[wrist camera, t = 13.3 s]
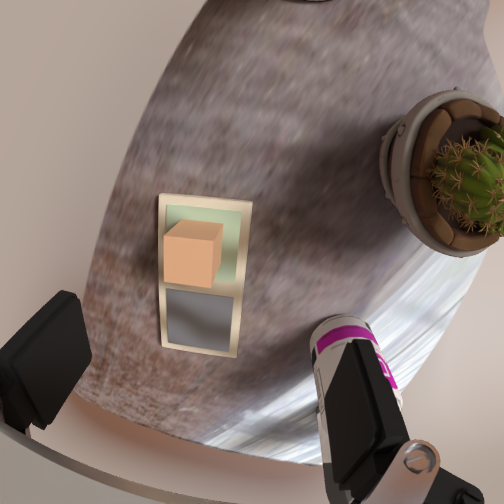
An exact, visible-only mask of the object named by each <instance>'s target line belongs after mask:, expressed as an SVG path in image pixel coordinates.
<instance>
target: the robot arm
mask: <svg viewBox="0 0 504 504" xmlns="http://www.w3.org/2000/svg"><path fill="white" fill-rule="evenodd" d="M309 1H324V0H309ZM91 358H92V353H91V349H90V345H89V341H88V337H87V332H86V328H85V323H84V318H83V313H82V308H81V303H80V300H79V299H78V298H77V296H76V294H74V293H72V292H68V291H64V290H61V291H59V292H58V293H57V294H56V295H55V296H54V297H53V298H52V299H51V300H49V301H48V302H47V303H46V304H45V305H44V306H43V307H42V308H41V309H40V310H39V311H38V312H37V313H36V314H35V315H34V316H33V317H32V318H31V319H30V320H28V321H27V322H26V323H25V325H23V326H22V328H21V329H19V330H18V332H16V334H15V335H14V336H13V337H12V338H11V339H10V340H9V341H8V342H7V343H6V344H5V345H4V346H3V347H2V348H1V349H0V504H236V503H228V502H221V501H214V500H208V499H202V498H196V497H191V496H186V495H182V494H177V493H172V492H168V491H164V490H160V489H156V488H153V487H149V486H146V485H142V484H139V483H135V482H132V481H128V480H126V479H123V478H119V477H117V476H114V475H111V474H108V473H106V472H103V471H100V470H98V469H95V468H93V467H90V466H88V465H85V464H83V463H80V462H78V461H76V460H74V459H71V458H69V457H67V456H65V455H63V454H60V453H58V452H56V451H54V450H52V449H50V448H48V447H46V446H44V445H42V444H41V443H39V442H37V441H35V440H33V439H31V435H30V430H29V425H30V424H31V422H32V424H33V425H35V426H37V427H38V428H40V429H43V430H45V428H46V426H47V425H50V424H51V423H52V422H53V420H54V419H55V417H56V415H57V414H58V412H59V410H60V409H61V407H62V406H63V404H64V402H65V401H66V399H67V397H68V396H69V394H70V393H71V391H72V390H73V388H74V386H75V385H76V383H77V382H78V380H79V379H80V377H81V376H82V374H83V373H84V371H85V370H86V368H87V367H88V365H89V364H90V362H91ZM324 406H325V414H326V421H327V429H328V437H329V445H330V453H331V462H332V471H333V480H334V482H335V483H339V491H344V490H350V491H351V497H353V498H352V499H351V501H350V502H349V503H348V504H484V497H483V494H482V493H481V491H480V490H479V489H478V488H477V487H475V486H473V485H472V484H470V483H468V482H466V481H464V480H462V479H460V478H458V477H457V476H455V475H453V474H451V473H449V472H448V471H446V470H444V469H443V468H441V467H440V456H439V453H438V451H437V450H436V448H435V447H434V446H433V445H432V444H430V443H429V442H426V441H424V440H416V439H415V440H410V438H409V435H408V432H407V429H406V426H405V423H404V420H403V417H402V414H401V411H400V408H399V406H398V403H397V400H396V397H395V394H394V392H393V389H392V386H391V384H390V381H389V380H388V379H387V378H386V377H385V375H384V373H383V370H382V367H381V365H380V362H379V360H378V357H377V354H376V352H375V349H374V347H373V344H372V342H371V340H369V339H353V340H352V342H348V343H347V344H346V346H345V348H344V351H343V354H342V356H341V359H340V361H339V364H338V366H337V368H336V371H335V373H334V376H333V378H332V380H331V383H330V385H329V387H328V390H327V392H326V394H325V398H324Z"/></svg>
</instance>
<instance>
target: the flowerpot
mask: <svg viewBox="0 0 504 504" xmlns="http://www.w3.org/2000/svg"><path fill="white" fill-rule="evenodd" d="M382 141H383V142H382V145H381V148H380V156H379V169H380V176H381V180H382V184H383V187H384V189H385V191H386V193H385V196H386V198H388V199H390V200H391V202H392V203H393V204H394V205H395V206H396V207H397V208H398V211H399V213H400V215H401V217H402V224H404V225H407V227H408V228H409V230H410V231H411V232H412V233H413V234H414V235H415V236H416V237H417V238H418V239H419V240H420V241H422V242H423V243H424V244H425V245H427V246H428V247H430V248H431V249H433V250H435V251H437V252H440V253H442V254H445V255H449V256H453V257H460V258H463V257H468V256H473V255H476V254H479V253H481V252H482V251H484V250H485V249H486V248H488V247H489V246H490V245H492V244H494V243H495V242H497V241H498V239H499V237H502V236H503V237H504V117H502V116H501V115H500V114H499V113H498V112H497V111H496V110H495V109H494V108H493V107H492V106H491V105H490V104H489V103H488V102H486V101H485V100H483V99H482V98H480V97H479V96H477V95H475V94H473V93H470V92H467V91H461V90H460V88H459V87H455V88H454V90H446V91H442V92H438V93H435V94H433V95H430V96H428V97H426V98H425V99H423V100H422V101H420V102H419V103H418V104H416V105H415V106H414V107H413V108H412V109H411V110H410V111H409V112H408V114H407V115H405V116H404V117H402V118H401V119H399V120H398V121H397V122H396V123H395V124H394V125H393V126H392V127H391V128H390V129H389V130H388V132H387V133H386V135H384V136H382Z"/></svg>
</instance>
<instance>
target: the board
mask: <svg viewBox="0 0 504 504" xmlns="http://www.w3.org/2000/svg"><path fill="white" fill-rule="evenodd" d="M252 205H253V201H245V200H236V199H226V198H216V197H205V196H194V195H183V194H170V193H161V194H159V215H158V274H159V304H160V324H161V339H162V347H168V348H173V349H179V350H185V351H191V352H197V353H203V354H210V355H217V356H224V357H232V358H236V357H237V349H238V339H239V330H240V320H241V310H242V300H243V291H244V281H245V272H246V262H247V253H248V243H249V234H250V224H251V215H252ZM182 219H185V220H195V221H205V222H215V223H224V224H223V238H222V252H221V264H220V266H219V269H218V272H217V274H216V277H215V279H214V282H213V284H212V287H211V288H206V287H199V286H191V285H184V284H177V283H169V282H164V235H165V234H166V233H167V232H168V231H169V230H170V229H172V228H173V227H174V226H175V225H176V224H177V223H178V222H179V221H180V220H182Z"/></svg>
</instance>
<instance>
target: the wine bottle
mask: <svg viewBox="0 0 504 504" xmlns="http://www.w3.org/2000/svg"><path fill="white" fill-rule="evenodd" d="M316 413H317V421H318V428H319V436H320V444H321V452H322V461H323V469H324V478H325V487H326V493H327V496H328V500H329V502H330V504H348V503H349V502H350V501H351V499H352V498H353V497H351V491H350V490H344V491H339V483H335V482H334V480H333V471H332V462H331V453H330V445H329V437H328V435H327V433H326V432H325V431H324V429H323V428H322V424H321V417H320V410H319V406H318V407H317V408H316Z"/></svg>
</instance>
